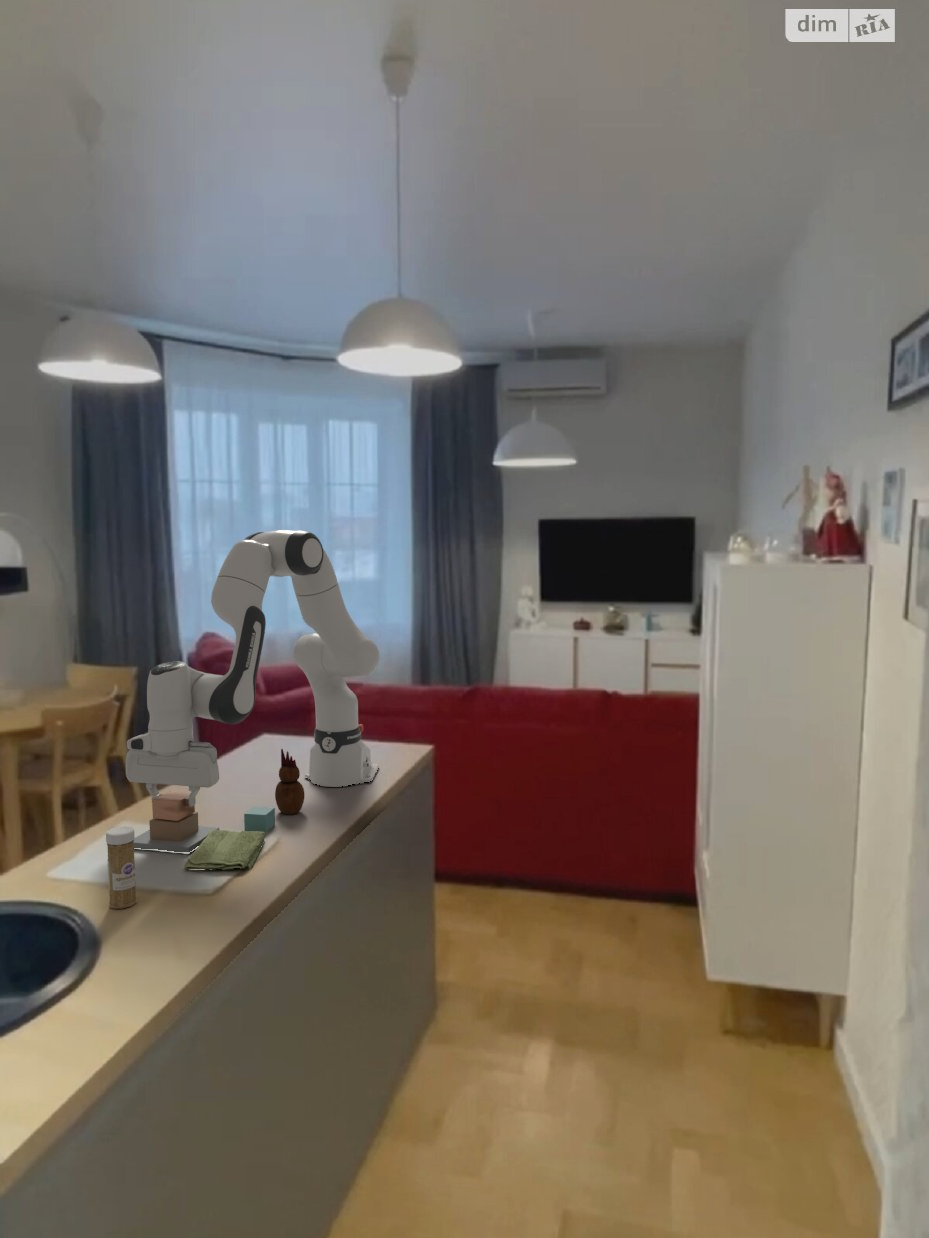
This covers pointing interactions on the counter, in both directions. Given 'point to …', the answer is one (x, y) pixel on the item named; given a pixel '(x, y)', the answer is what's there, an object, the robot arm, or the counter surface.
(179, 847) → the baseplate
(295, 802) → the wooden figurine
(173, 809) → the brick
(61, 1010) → the counter surface
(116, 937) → the counter surface
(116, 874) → the sprinkles bottle
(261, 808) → the brick
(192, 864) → the washcloth
